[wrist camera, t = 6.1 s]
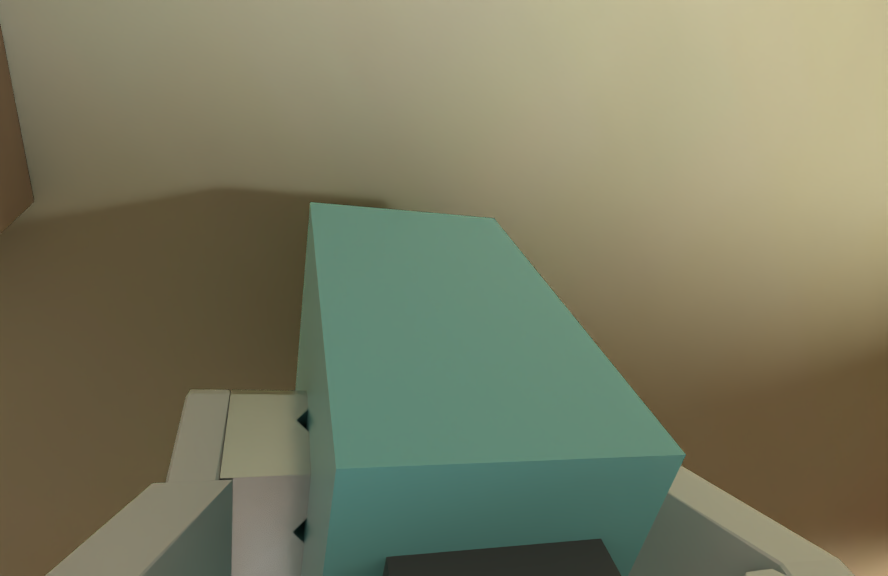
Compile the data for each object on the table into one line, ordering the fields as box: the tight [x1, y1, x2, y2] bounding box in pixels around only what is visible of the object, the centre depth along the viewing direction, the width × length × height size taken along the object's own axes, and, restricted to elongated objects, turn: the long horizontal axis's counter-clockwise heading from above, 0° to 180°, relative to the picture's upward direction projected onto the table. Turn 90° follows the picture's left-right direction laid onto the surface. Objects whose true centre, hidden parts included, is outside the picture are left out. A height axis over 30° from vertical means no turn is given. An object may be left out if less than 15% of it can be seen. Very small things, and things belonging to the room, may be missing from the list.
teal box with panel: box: [295, 202, 686, 576], centre depth 8 cm, size 3×5×6 cm, turn 170°
